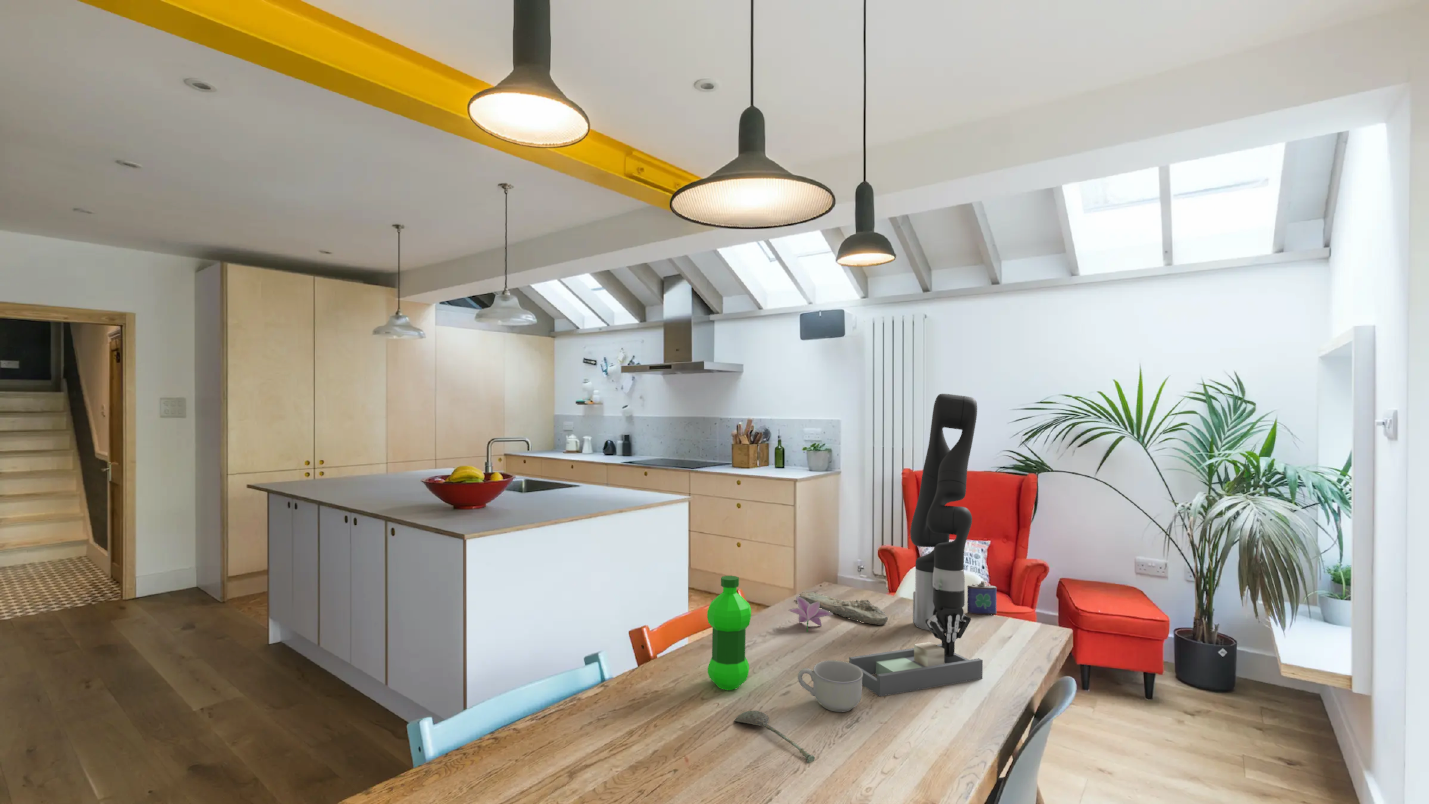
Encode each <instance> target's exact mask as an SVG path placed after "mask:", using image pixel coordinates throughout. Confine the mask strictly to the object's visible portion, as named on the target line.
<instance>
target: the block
mask: <svg viewBox="0 0 1429 804" xmlns="http://www.w3.org/2000/svg"><path fill="white" fill-rule="evenodd" d="M913 648H914V661H916V662H918V663H920V664H921V665H923V666H925V667H927V666H934V665H940V664H944V648H942V647H940V646H938V644H936V643H934V642H931V641H928V642H922V643H921V642H920V643H915V644H914V645H913Z"/></svg>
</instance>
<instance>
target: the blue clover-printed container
mask: <svg viewBox="0 0 1429 804" xmlns="http://www.w3.org/2000/svg"><path fill="white" fill-rule="evenodd" d="M997 588H998V587H997V586H995V585H986V582H985V581H984V580H980V583H979V584H977V583H976V584H974V583H972V584H969V585H967V596H966V597H967V603H966V605H967V614H969V615H972V614H973V615H975V616H976V615H977V616H996V615H997V613H998V612H997ZM991 614H992V615H991Z"/></svg>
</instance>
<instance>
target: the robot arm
mask: <svg viewBox="0 0 1429 804" xmlns="http://www.w3.org/2000/svg"><path fill="white" fill-rule="evenodd" d="M977 403H978V402H977V400H976V398H974V397H972V396H966V395H959V394H953V393H952V394H949V393H940V394H938V395H937V396H936V398H935V401H934V404H933V408H932V415H931V425H930V432H929V440H928V446H927V451H926V456H925V460H924V463H923V464H924V465H923V469H922V475H921V482H920V488H919V493H918V494H919V495H918V498H917V503H916V506H915V509H914V513H913V516H912V520H911V525H910V531H909V532H910V533H909V534H910V540H911V542H912V544H913V545H914V546H916V547H922V548H933V550H932V551H930V552H929V553H927V554H925V555H922V556H920V557H917V558H916V559H915V583H914V584H915V585H914V586H915V587H914V589H915V590H914V591H913V593H912V623H913V624H914V625H915V626H916V627H917V628H919V629H921V630H926V631H930V632H931V633H932V635H933V636H934V637H935V638H936V639H938V640H940V641H941V644H942V648H944V656H946V657H953V654H954V653H955V650H956V649H955V647H956V646H955V642H956V641H957V640H958V639H961V638H962V637H963V635H964V633H965V631H966V630H967V628H968V626H969V625H970V623H971V621H972V618H971V617H970V616H968V615H966V614H965V612H964V609H963V608H964V607H965V605H966V604H965V603H966V601H965V597H966V596H965V593H966V592H965V591H966V589H965V588H966V586H965V584H966V581H965V580H966V579H965V571H964V570H965V569H964V568H965V567H964V565H965V563H964V562H965V549H966V542H967V539H968V536H969V534H970V533H969V532H970V530H971V528H972V525H973V524H972V523H973V516H972V513H971V511H970V510H969V508H967V507H965V506H959V505H958V506H957V505H956V506H954V505H947V504H948V503H952V502H958V501H962V500H963V499H964V498H966V493H967V480H968V469H969V468H968V465H969V460H970V456H971V451H972V450H971V449H972V447H973V440H974V433H975V431H976V430H975V429H976V423H977V417H978V404H977ZM944 428H946V429H951V430H952V429H954V430H961V434H960V436H959V439H958V441H957V442H956V443H955V445H953V446H952V448H951V449H950V448H949V445H948V444H947V441H946V438H945V435H944ZM950 535H954V536H955V538H954V540H951V541H950Z"/></svg>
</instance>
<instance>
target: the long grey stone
mask: <svg viewBox="0 0 1429 804" xmlns="http://www.w3.org/2000/svg"><path fill="white" fill-rule="evenodd" d="M803 593H805V592H801V593H800V594H799V595H800V596H799V595H798V597H801V598H803V599H804V600H806V601H807V602H808V603H809V604H812V603H815V602H820V607H819V608H822V609H824V610H827V611H830V612H831V613H836V614H835V615H837V614H839V615H838V616H841V617H842V616H843V618H844V617H848V618H850V619H849V620H853V619H854V620H853V621H856V620H858V621H861V622H864V623H865V624H871V625H879V626H880V625H885V624H886V623H887V622H888V620H889V619H888V618H889V616H887V614H886V611H883V610H882V609H881V608H880V607H878V606H876V605H874V604H872V603H871V601H869V599H861V600H857V599H856V600H848V601H847V600H843V599H839V598H835V597H831V596H827V595H823V594H820V593H817V592H813V591H806V593H805V594H803ZM848 618H847V619H848ZM858 621H857V622H858ZM861 622H860V623H861Z"/></svg>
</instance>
